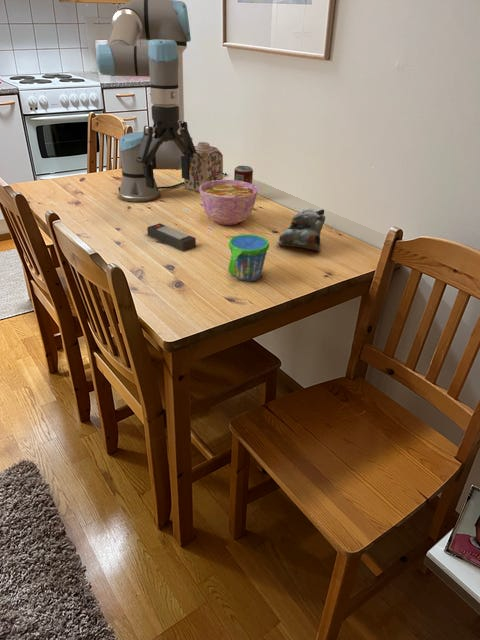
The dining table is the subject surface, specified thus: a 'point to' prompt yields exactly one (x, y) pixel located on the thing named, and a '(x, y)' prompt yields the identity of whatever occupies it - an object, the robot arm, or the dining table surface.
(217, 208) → the bowl of food
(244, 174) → the soda can
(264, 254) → the snack cup
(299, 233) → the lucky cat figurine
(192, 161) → the decorative jar
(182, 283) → the dining table surface
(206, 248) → the dining table surface
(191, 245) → the tv remote
